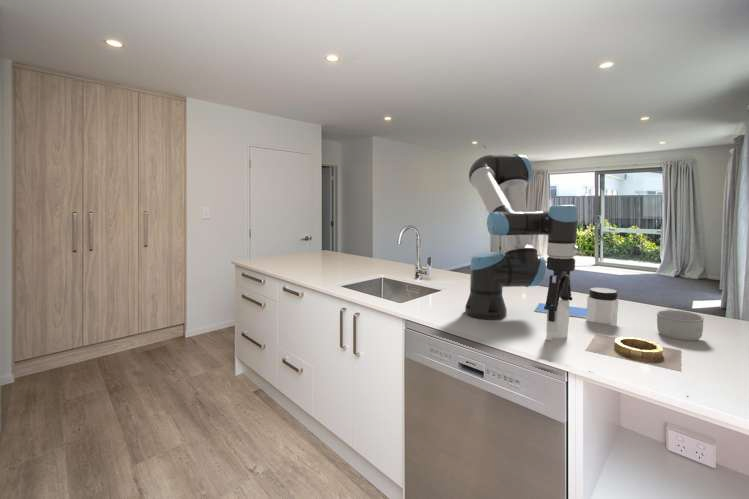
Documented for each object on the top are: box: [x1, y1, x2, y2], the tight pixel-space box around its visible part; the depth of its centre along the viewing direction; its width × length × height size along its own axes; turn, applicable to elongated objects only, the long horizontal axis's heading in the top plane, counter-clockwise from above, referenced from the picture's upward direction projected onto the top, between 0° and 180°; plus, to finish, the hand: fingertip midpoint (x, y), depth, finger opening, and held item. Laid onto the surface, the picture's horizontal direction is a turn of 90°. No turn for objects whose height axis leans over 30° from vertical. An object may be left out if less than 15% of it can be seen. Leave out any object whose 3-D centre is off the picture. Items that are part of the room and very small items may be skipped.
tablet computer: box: [533, 302, 587, 319], centre depth 140 cm, size 19×13×1 cm, turn 58°
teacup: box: [656, 308, 705, 342], centre depth 110 cm, size 14×11×8 cm
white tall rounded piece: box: [545, 303, 570, 342], centre depth 109 cm, size 6×12×6 cm
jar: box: [585, 287, 619, 327], centre depth 123 cm, size 9×8×12 cm
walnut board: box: [585, 333, 682, 372], centre depth 98 cm, size 20×16×2 cm
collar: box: [614, 336, 664, 360], centre depth 97 cm, size 10×10×2 cm
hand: (557, 325), depth 109 cm, fingers open, 13 cm apart
